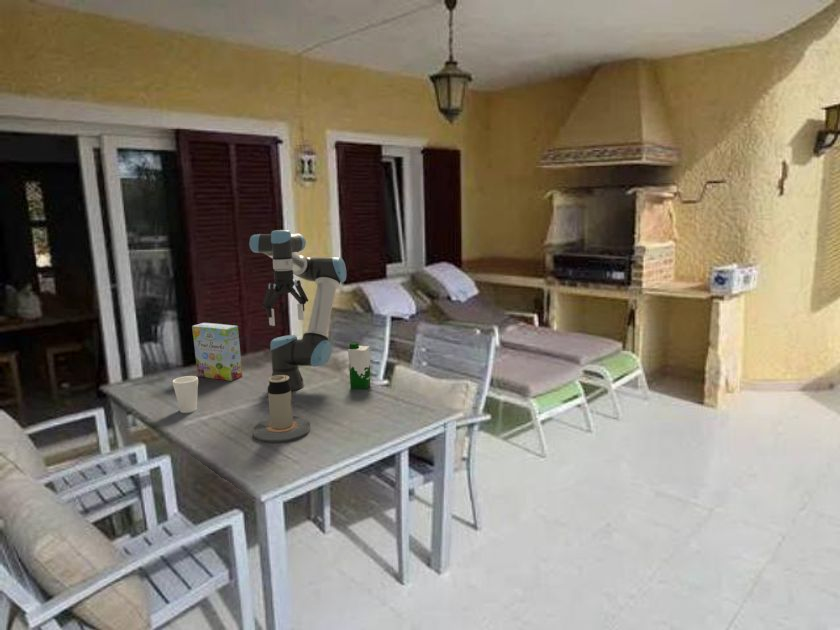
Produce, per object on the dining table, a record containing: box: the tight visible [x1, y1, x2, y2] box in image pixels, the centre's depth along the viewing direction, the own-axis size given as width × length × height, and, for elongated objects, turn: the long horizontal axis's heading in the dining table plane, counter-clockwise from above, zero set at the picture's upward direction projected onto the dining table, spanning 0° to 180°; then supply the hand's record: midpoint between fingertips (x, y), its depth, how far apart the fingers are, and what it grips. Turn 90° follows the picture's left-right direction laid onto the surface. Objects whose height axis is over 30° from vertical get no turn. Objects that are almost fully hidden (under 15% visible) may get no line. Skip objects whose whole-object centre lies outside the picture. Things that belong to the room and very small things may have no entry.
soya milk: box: [347, 342, 371, 390], centre depth 251 cm, size 9×9×20 cm
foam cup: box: [172, 375, 199, 414], centre depth 227 cm, size 10×9×13 cm
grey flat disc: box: [252, 415, 311, 444], centre depth 204 cm, size 20×20×2 cm
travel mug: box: [267, 375, 294, 429], centre depth 202 cm, size 8×8×18 cm
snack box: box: [191, 322, 243, 382], centre depth 270 cm, size 22×9×26 cm, turn 67°
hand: (286, 322), depth 225 cm, fingers open, 13 cm apart
